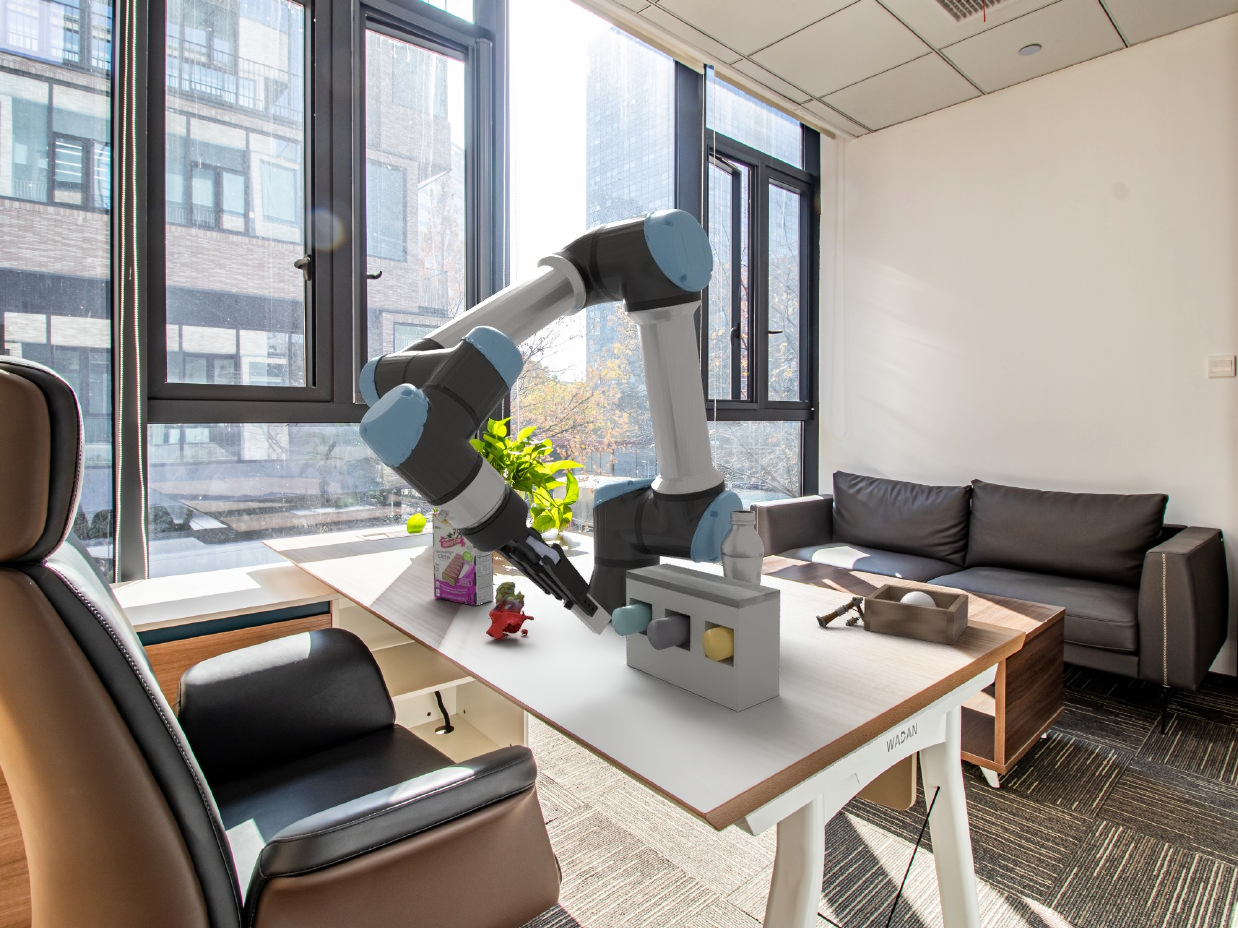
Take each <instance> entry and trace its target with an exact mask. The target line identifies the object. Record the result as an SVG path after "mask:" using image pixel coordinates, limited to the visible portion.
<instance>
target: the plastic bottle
mask: <svg viewBox="0 0 1238 928" xmlns="http://www.w3.org/2000/svg"><path fill="white" fill-rule="evenodd" d="M729 523H730V524H731V528H730V530H729V531H728V532H727V533H726V535H725V536H724V538H723V540H722V542H721V546H720V551H721V559H722V561H721V564H722V572H723V577H727V578H732V579H736V580H740V581H745V582H749V583H753V584H758V585H761V582H762V571H763V563H764V558H765V557H764V555H765V545H764V541H763V540H762V537H761V536H760V535H759V533H758V531H757V530H756V529H755V525H756V524H757V521H756V511H754V510H750V509H747V510H746V509H743V510H732V511H730V520H729Z"/></svg>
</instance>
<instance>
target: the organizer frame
mask: <svg viewBox="0 0 1238 928" xmlns="http://www.w3.org/2000/svg"><path fill="white" fill-rule="evenodd" d="M915 591H917V592H923V593H925V594H927V595H929V596H930V597H931V598H932V599H933V601H934V603H935V605H936V607H929V606H922V605H915V604H908V603H901V602H900V601H901V600H902V598H903V597H904V596H905V595H906V594H908V593H911V592H915ZM863 601H864V603H863V608H864V609H863V613H864V622H863V630H864V631H867V632H868V631H869V632H875V633H881V634H887V635H893V636H898V637H904V638H908V639H909V638H910V639H916V640H922V641H927V642H933V643H938V644H944V645H949V646H954V645H955V643H956V642H957V641H958V640H959V638H960V637H961V635H962V634H963V633H964V631H965V629H966V628H967V627H968V626H969V625H968V624H969V594H964V593H958V592H956V593H955V592H949V591H943V590H933V589H927V588H919V587H912V586H903V585H896V584H888V583H884V584H882V586H880V587H879V588H877V589H876V590H875V591H873V592H872V593H870V594H869V595H868V596H866V597H865V598H863Z"/></svg>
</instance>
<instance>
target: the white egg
mask: <svg viewBox="0 0 1238 928" xmlns="http://www.w3.org/2000/svg"><path fill="white" fill-rule="evenodd" d="M900 602H901V603H908V604H915V605H922V606H929V607H936V605H935V603H934V601H933V599H932V598H931V597H930V596H929V595H927V594H925V593H923V592H917V591H915V592H911V593H908V594H906V595H905V596H904V597H903V598H902V600H901V601H900Z"/></svg>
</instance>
